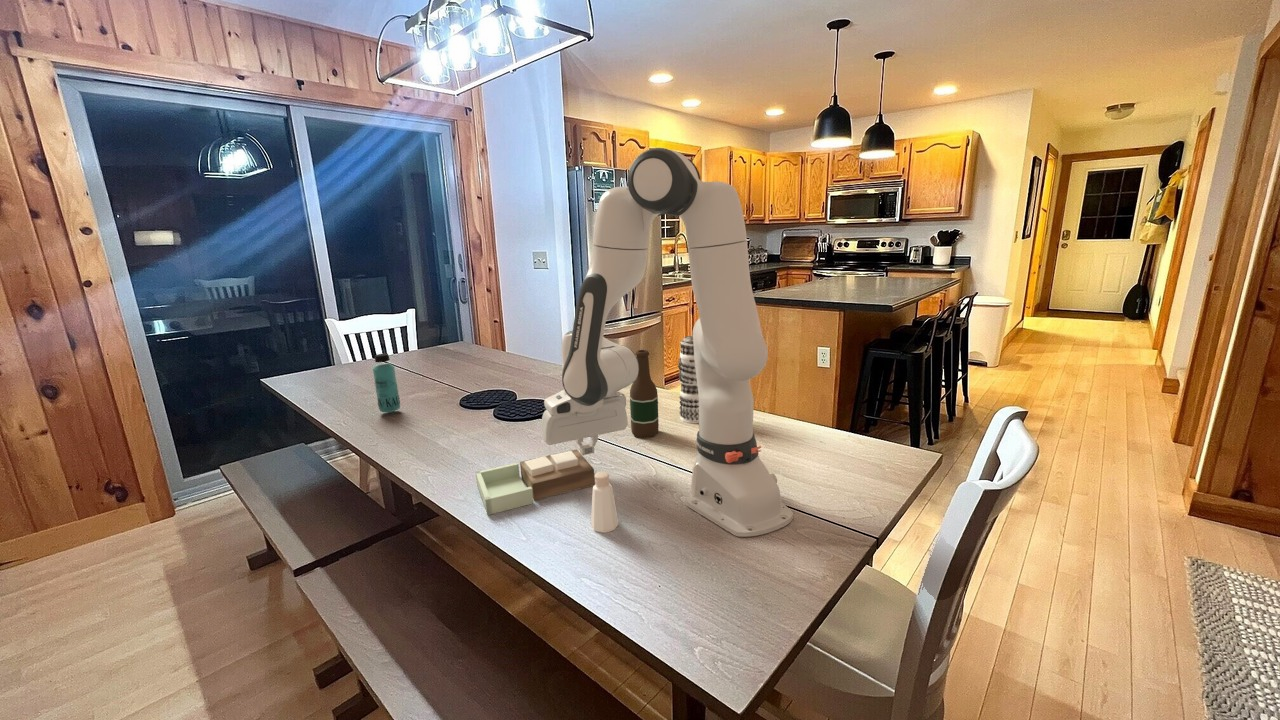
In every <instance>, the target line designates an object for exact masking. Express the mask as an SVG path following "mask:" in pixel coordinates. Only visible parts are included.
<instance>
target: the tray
mask: <svg viewBox="0 0 1280 720" xmlns="http://www.w3.org/2000/svg"><path fill="white" fill-rule="evenodd" d="M519 465H520V464H519V463H518V462H514V463H509V464H505V465H500V466H497V467H495V466H494V467H492V468H487V469H482V470H478V471H475V479H476V485H477V490H478V492H479V494H480V498H481V500H482V504H483V506H484V510H485V513H486V512H487V513H486V515H487V516H489V515H493V514H498V513H501V512H505V511H508V510H513V509H517V508H521V507H525V506H528V505H532V504H534V499H533V494H532V488H531V487H526V485H525V483H524V481H523V479H522V477H521V473H520V467H519Z"/></svg>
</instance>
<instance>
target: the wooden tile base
mask: <svg viewBox="0 0 1280 720" xmlns="http://www.w3.org/2000/svg"><path fill="white" fill-rule="evenodd" d="M568 451H569V450H568ZM568 451H566V452H568ZM570 451H572V452H573V454H574V455H575V456H576V457H577V458H578V466H573V467H569V468H565V469H561V470H557V469H556V468H555V466H554V465H553V470H554V471H551V472H547V473H543V474H540V475H536V476H533V477H532V476H531V475H530V474H529V472H528V471H527V470H526V469H525V464H524V462H525V461H528V460H529V459H527V460H523V461H519V465H520V467H519V468H520V477H521V479H522V481H523V483H524V485H525V487H526V488H527V487H531V488H532V494H533V502H534V501H538V500H542V499H546V498H549V497H553V496H557V495H562V494H566V493H569V492H573V491H577V490H582V489H586V488H588V487H593V486H594V485H595V484H596V483H595V468H594V467H593V466H592V465H591V464H590V463H589V461H587V459H586V458H585V457H584V455H582V454H581V452H580V450H578V449H576V448H575V449H573V450H572V449H571V450H570ZM563 452H564V451H563ZM563 452H561V453H563ZM559 453H560V452H559ZM559 453H557V454H559ZM554 454H555V453H554ZM554 454H550V455H544V456H545V457H546V458H547V459H548V460H549V461H550V462H551V455H554ZM532 459H533V458H532ZM532 459H530V460H532ZM534 459H536V458H534ZM551 463H552V462H551Z"/></svg>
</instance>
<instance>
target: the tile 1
mask: <svg viewBox="0 0 1280 720" xmlns="http://www.w3.org/2000/svg"><path fill="white" fill-rule="evenodd" d="M545 456H546V455H544V456H541V457H537V458H536V459H535V458H532V460H531V459H527V460H528V461H526V460H524V461H525V462H524V464H525V469H526V470H527V471H528V472H529V474H530V475H531V476H532V477H533V476H536V475H540V474H543V473H547V472H551V471H554V470H553V464H552V463H551V462H550V461H549V460H548V459H547V458H546V457H545Z"/></svg>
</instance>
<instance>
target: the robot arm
mask: <svg viewBox="0 0 1280 720" xmlns="http://www.w3.org/2000/svg"><path fill="white" fill-rule="evenodd" d="M595 214H596V215H595V219H594V227H593V235H592V249H591V250H592V251H591V258H590V261H589V266H588V270H587V273H586V275H585V277H584V279H583V281H582V283H581V285H580V289H579V291H578V296H577V302H576V307H575V313H574V321H573V325H572V330H570V331H568V332H566V333H565V334H564V335H563V338H562V342H561V365H562V366H561V367H562V373H561V382H562V387H563V389H562V390H561V391H559V392H556V393H555V394H554V393H553V394H552V395H550V396H548V397H546V398H545V399H544V401H543V404H544V408H545V410H544V412H543V414H542V416H541V437H542V440H543V441H544V442H545V443H546V444H547V445H548V446H553V445H557V444H562V443H567V442H568V443H569V442H571V441H574V442H575V443H577V445H578V446H579V452H580V454H581V455H582V456H586V455H591V454H594V453H595V446H596V445H597V443H598V441H599V436H600V435H604V434H605V435H606V434H610V433H614V432H619V431H620V432H621V431H624V430H626V429H627V427H628V424H629V423H628V415H627V409H626V406H627V397H626V395H625V394H624V393H622V392H620V391H621V390H623V389H625V388H627V387H629V386H630V385H632V384H633V383H634V382H635V380H636V379H637V377H638V374H639V363H638V360H637V356H636V355H635V354H636V353H635V352H634V351H633V350H632V349H631V348H630V347H628V346H626V345H623V344H622V345H621V344H618V343H616V342H613V341H611V340H609V339H608V338H606V337H605V336H604V334H605V327H606V322H607V318H608V315H609V314H610V312H611V310H612V308H613V307H615V305H616V304H617V303H618V302H619V301H620V300H621V299H622V298H623V297H624V296H625V295H627V294H628V293H630V292H631V291H632V290H634V289H635V288H636V287H637V286H638V285H639V284H640V282H641V281H642V280H643V277H644V275H645V273H646V268H647V264H648V256H649V254H648V253H649V243H650V241H649V240H650V239H649V238H650V230H651V226H652V224H653V221H654V219H655V218H656V217H660V216H664V215H665V216H666V215H668V216H672V217H673V216H675V217H679V218H681V220H682V222H683V224H684V228H685V234H686V242H687V243H686V244H687V252H688V262H689V272H690V279H691V287H692V293H693V295H694V300H695V302H696V306H697V311H698V312H697V313H698V316H699V317H698V319H697V320H696V321H695V323H694V324H693V327H692V328H693V329H692V336H693V345H694V359H695V370H696V379H697V387H698V396H699V423H698V431H697V433H696V438H695V439H696V441H695V443H696V451H697V456H696V459H695V461H694V463H693V466H692V472H691V473H692V474H691V484H690V495H689V496H688V497H687V499H686V501H685V505H686V507H687V508H690V509H691V510H693V511H695V512H696V513H698V514H699V515H701V516H702V517H704V518H706V519H707V520H710V522H712V523H713V524H715V525H717V526H719V527H720V528H722V529H724V530H726V531H727V532H729V533H730V534H732V535H734V536H735V537H742V538H743V537H748V538H749V537H756V536H762V535H765V534H768V533H772V532H775V531H777V530H779V529H780V530H781V528H784V527H785V526H787V525H788V524H790V523H791V522H792V520H793V519H794V512H793V511H792V510H791V509H790V508H789V507H788V506H786V504H785V503H784V502H782V500H781V499H782V498H781V490H780V487H779V485H778V484H777V483H778V479H777V476H776V474H774V473H770V472H769V470H768V468H767V467H766V465H765V464H764V463H763V461H762V459H761V458H760V456H759V452H760V453H761V452H762V450H761V448H762V446H761V445H760V446H758V444H757V442H758V441H757V439H756V436H755V434H754V406H755V405H754V401H755V400H754V395H753V392H752V388H751V387H752V386H751V382H750V380H751V379H753V378H755V377H757V376H758V375H759V374H761V372H762V371H763V370H764V369H765V367H766V365H767V363H768V357H769V356H768V355H769V350H768V346H767V343H766V341H765V337H764V336H763V332H762V328H761V327H762V326H761V321H760V316H759V313H758V308H757V304H756V300H755V296H754V291H753V288H752V282H751V273H750V261H749V252H748V241H747V239H748V237H747V230H746V222H745V217H744V213H743V206H742V203H741V200H740V197H739V194H738V190H737V189H736V188H735V187H734V186H732V185H731V184H729V183H727V182H723V181H718V180H717V181H715V180H714V181H702V180H701V175H700V172H699V170H698V167H697V166H696V165H695V163H694V162H693V160H692V161H691V159H689V158H688V157H686V155H684V154H682V153H680V152H678V151H676V150H673V149H668V148H664V147H653V148H650V149H648V150H645V151H644V152H641V153H640V154H638V156H636V158H635V159H634V160H633V162H632V163H631V165H630V167H629V169H628V174H627V186H616V187H611V188H609V189H608V190H606V191H604V192H603V193H602V195H600V197H599V202H598V204H597V209H596V213H595ZM586 438H590V440H589V443H588V444H582V443H584V439H586Z"/></svg>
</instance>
